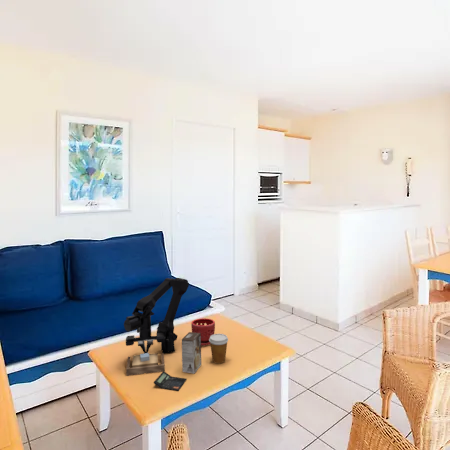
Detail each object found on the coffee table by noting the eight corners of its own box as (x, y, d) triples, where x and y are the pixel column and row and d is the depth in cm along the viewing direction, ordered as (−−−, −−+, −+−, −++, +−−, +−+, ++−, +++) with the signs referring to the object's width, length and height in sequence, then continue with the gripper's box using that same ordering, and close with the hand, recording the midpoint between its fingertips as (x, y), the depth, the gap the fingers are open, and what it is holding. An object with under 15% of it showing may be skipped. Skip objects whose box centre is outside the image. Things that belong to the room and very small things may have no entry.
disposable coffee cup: (230, 357, 179) (230, 334, 178) (224, 366, 170) (224, 342, 169) (213, 354, 182) (213, 332, 181) (206, 363, 173) (206, 339, 172)
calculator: (178, 391, 149) (178, 385, 149) (153, 388, 152) (153, 381, 152) (186, 380, 158) (186, 374, 158) (162, 377, 161) (162, 370, 161)
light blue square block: (148, 356, 173) (148, 352, 173) (149, 360, 169) (149, 356, 169) (140, 357, 172) (140, 354, 172) (141, 361, 168) (140, 357, 168)
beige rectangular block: (157, 360, 177) (157, 353, 177) (158, 370, 167) (158, 362, 167) (133, 363, 175) (133, 355, 174) (132, 373, 165) (131, 365, 165)
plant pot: (219, 343, 196) (219, 322, 194) (199, 349, 188) (198, 327, 187) (207, 335, 206) (207, 315, 205) (187, 341, 199) (187, 320, 198)
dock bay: (163, 358, 178) (163, 353, 178) (164, 371, 166) (164, 365, 165) (128, 362, 175) (127, 356, 174) (126, 375, 162) (126, 369, 162)
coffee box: (189, 363, 174) (188, 331, 172) (201, 364, 172) (201, 332, 170) (181, 372, 165) (181, 339, 163) (194, 374, 163) (194, 340, 162)
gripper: (163, 318, 185) (164, 346, 186) (126, 321, 181) (127, 350, 183) (164, 325, 174) (165, 356, 176) (125, 329, 170) (126, 360, 172)
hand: (146, 355), depth 177 cm, fingers closed
